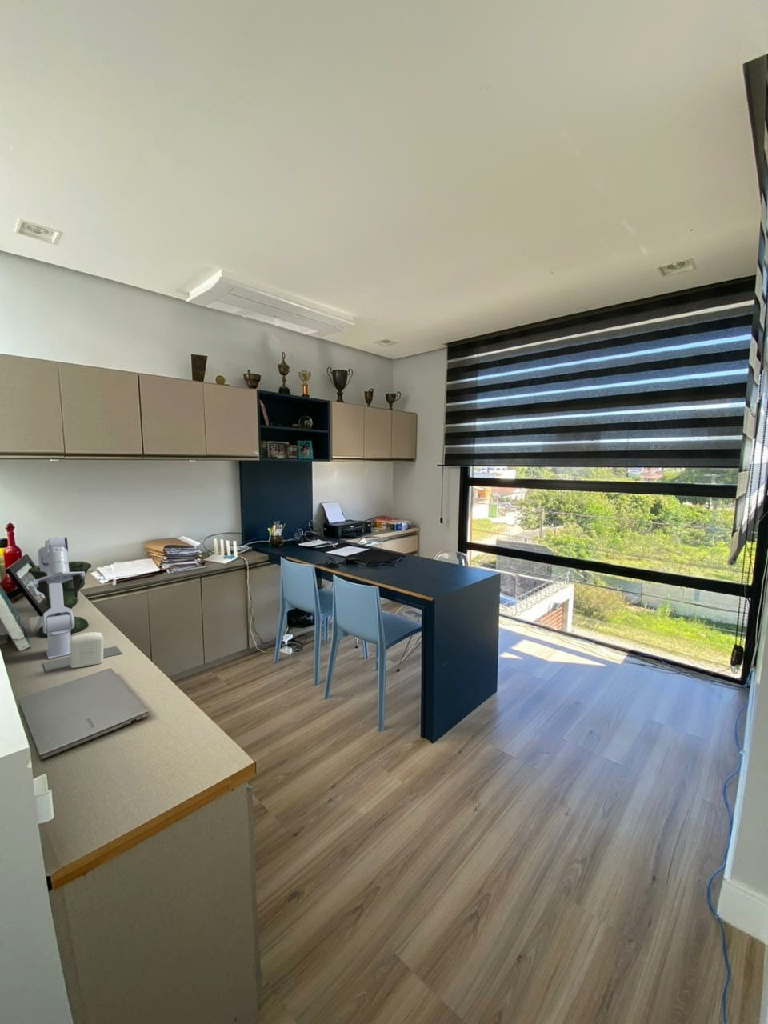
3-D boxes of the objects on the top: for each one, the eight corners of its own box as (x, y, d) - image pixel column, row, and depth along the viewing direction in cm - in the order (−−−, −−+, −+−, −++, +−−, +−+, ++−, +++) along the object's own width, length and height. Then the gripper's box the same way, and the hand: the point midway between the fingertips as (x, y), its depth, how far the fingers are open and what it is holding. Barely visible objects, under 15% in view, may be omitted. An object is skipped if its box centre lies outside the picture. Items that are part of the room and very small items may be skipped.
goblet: (30, 629, 193) (27, 565, 191) (89, 618, 208) (87, 559, 206) (32, 643, 177) (29, 574, 174) (96, 631, 192) (94, 567, 190)
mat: (42, 663, 159) (42, 662, 159) (116, 646, 175) (116, 645, 175) (46, 672, 152) (46, 671, 152) (122, 653, 169) (122, 652, 169)
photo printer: (103, 658, 163) (103, 628, 161) (103, 663, 160) (103, 633, 158) (70, 664, 157) (69, 633, 156) (69, 669, 154) (69, 638, 152)
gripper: (30, 564, 144) (33, 598, 138) (82, 556, 153) (86, 588, 146) (35, 574, 149) (37, 608, 143) (84, 566, 157) (88, 598, 151)
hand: (62, 599), depth 145 cm, fingers open, 7 cm apart
